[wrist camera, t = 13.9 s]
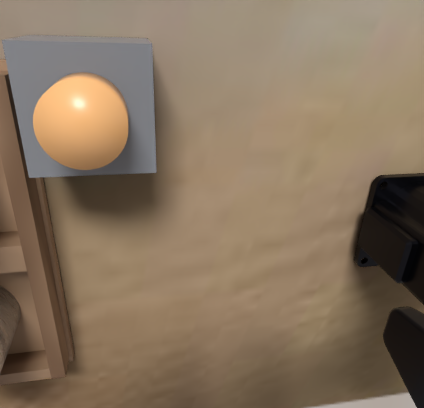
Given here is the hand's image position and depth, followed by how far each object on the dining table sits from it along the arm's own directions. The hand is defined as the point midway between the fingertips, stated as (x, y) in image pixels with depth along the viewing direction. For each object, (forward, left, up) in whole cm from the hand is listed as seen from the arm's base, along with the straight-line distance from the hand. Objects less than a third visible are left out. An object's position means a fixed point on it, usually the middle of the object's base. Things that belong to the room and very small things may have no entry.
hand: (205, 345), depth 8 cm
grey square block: (+3, -3, -13) cm, 14 cm away
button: (+3, -3, -9) cm, 10 cm away
